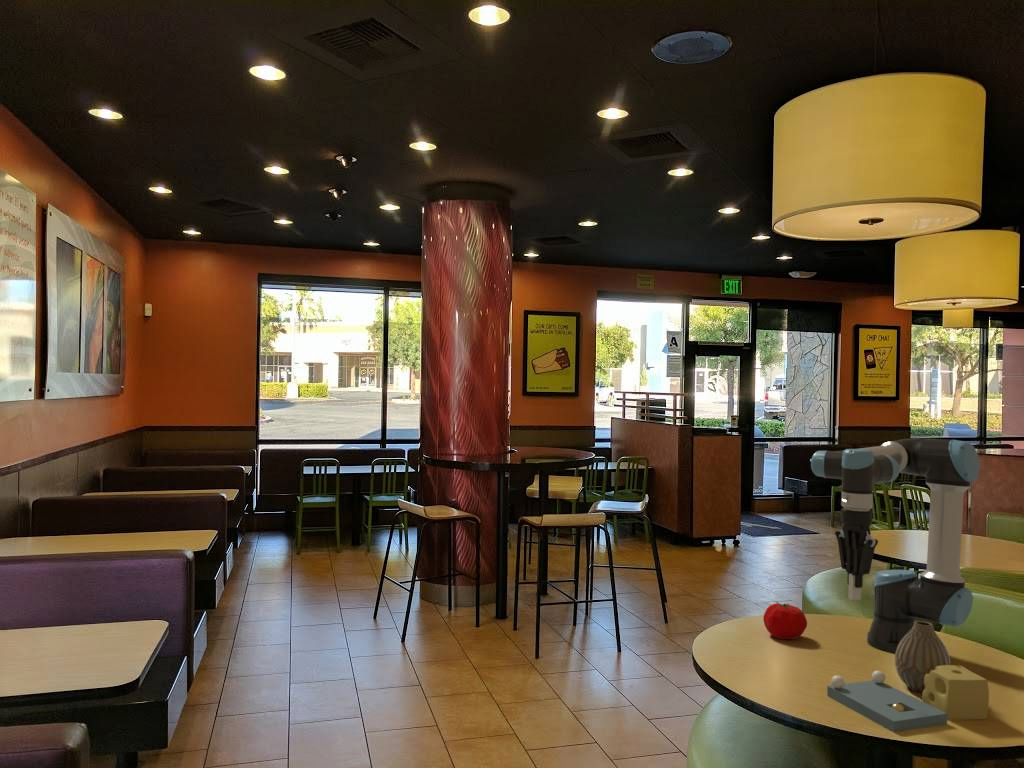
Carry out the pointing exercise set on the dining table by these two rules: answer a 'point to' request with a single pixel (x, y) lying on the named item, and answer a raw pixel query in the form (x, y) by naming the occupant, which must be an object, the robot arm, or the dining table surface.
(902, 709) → the ball
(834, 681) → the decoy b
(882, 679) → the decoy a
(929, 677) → the cheese
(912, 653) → the vase
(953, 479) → the robot arm
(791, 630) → the tomato
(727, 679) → the dining table surface
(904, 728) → the plate
